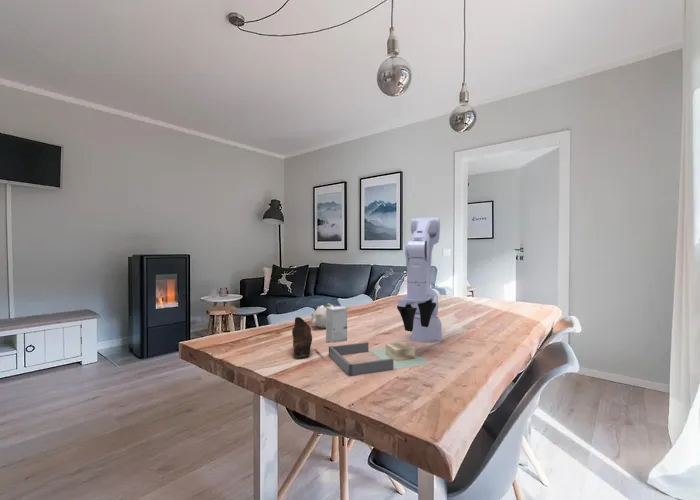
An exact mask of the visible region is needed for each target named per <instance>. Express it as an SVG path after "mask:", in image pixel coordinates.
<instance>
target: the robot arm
mask: <svg viewBox="0 0 700 500" xmlns="http://www.w3.org/2000/svg"><path fill="white" fill-rule="evenodd" d="M410 232H411V237H410V240H408V242H406V243H405V246H404V255H405V266H406V267H407V268H406V269H407V270H406V275H407V276H406V285H407V286H406V295H404V297H402V298H399V299H398V300H397V304H398V305H397V306H396V308H397V311H398V312H399V314H400V317H401V319H402V324H403V325H404V326H403V327H404V331H407V332H410V333H411V340H412V341H415V342H419V343H429V342H434V341H439V342H442V336H443V335H442V334H443V332H442V329H443V328H442V325H443V324H442V322H441V319H440V318H439V316H438V315H439V296H438V295H439V294H438V293H437V292H436V291H435V290H434V289H433V288H431V279H432V277H431V275H432V255H433V254H432V252H433V249H434V246H435V245H436V244H438V243H439V242H440V241H439V240H440V232H441V219H440V218H439V217H438V216H436V217H412V218H411V221H410Z"/></svg>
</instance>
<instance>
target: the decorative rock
mask: <svg viewBox="0 0 700 500" xmlns="http://www.w3.org/2000/svg"><path fill="white" fill-rule="evenodd" d="M291 330H292V331H291V334H292V335H291V336H292V347H293V350H292V351H293V356H294V357H295V359H298V358H300V359H301V358H305V357H308V356H309V354H310V352H311V346H312V342H313V335H312V329H311V326H310V325H309V324H308V323H307V321H305V320H304V319H303V318H302V317H299V316H296V317H295V318H294V324H293V328H292V329H291Z"/></svg>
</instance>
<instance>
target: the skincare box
mask: <svg viewBox="0 0 700 500" xmlns="http://www.w3.org/2000/svg"><path fill="white" fill-rule="evenodd" d="M326 307H327V306H326ZM326 307H325V308H326ZM347 341H348V307H346V306H341V305H339V306H338V305H337V306H334V307H327V308H326V328H325V344H328V343H338V342H347Z"/></svg>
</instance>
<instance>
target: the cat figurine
mask: <svg viewBox="0 0 700 500" xmlns="http://www.w3.org/2000/svg"><path fill="white" fill-rule="evenodd" d="M327 307H335V306H334V304H331V303H330V302H329V303H326V304H325V306H324V305H318V306H317V307H316V308H315V309H314V311H313V313H312V314H311V323H312V324H313V325H315V326H316V327H318V328H322V329H326V308H327Z"/></svg>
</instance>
